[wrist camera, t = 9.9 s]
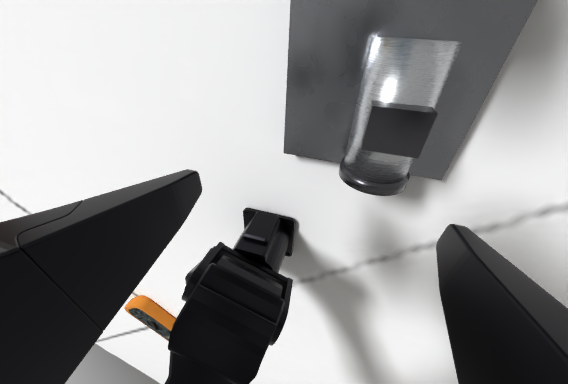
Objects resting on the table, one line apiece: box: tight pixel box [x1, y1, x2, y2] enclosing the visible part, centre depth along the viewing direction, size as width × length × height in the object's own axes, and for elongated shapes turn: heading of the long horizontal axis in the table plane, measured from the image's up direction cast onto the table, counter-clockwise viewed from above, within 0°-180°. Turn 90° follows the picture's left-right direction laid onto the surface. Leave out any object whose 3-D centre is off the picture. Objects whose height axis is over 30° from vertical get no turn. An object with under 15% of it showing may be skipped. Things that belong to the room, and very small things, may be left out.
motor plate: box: [284, 0, 537, 196], centre depth 12 cm, size 20×13×7 cm, turn 177°
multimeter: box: [125, 295, 176, 341], centre depth 58 cm, size 9×18×3 cm, turn 40°
